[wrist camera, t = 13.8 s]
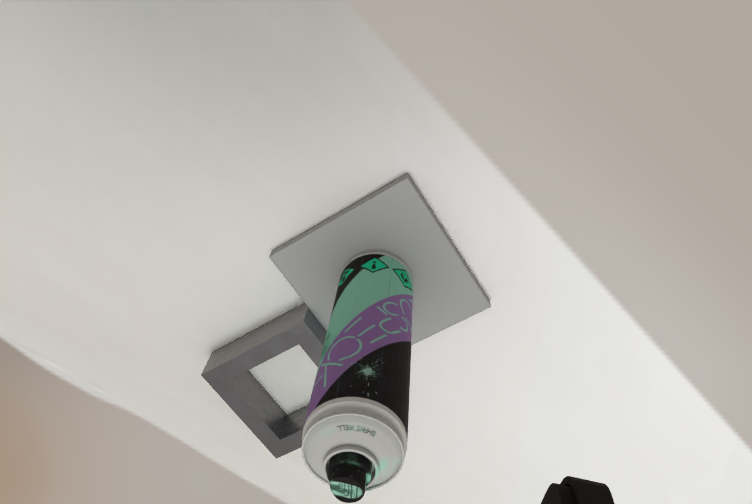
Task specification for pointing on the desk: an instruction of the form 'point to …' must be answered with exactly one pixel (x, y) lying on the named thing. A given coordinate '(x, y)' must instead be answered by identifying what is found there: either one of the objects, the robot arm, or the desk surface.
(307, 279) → the mat
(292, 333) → the grey square frame
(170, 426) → the desk surface
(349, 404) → the spray can
